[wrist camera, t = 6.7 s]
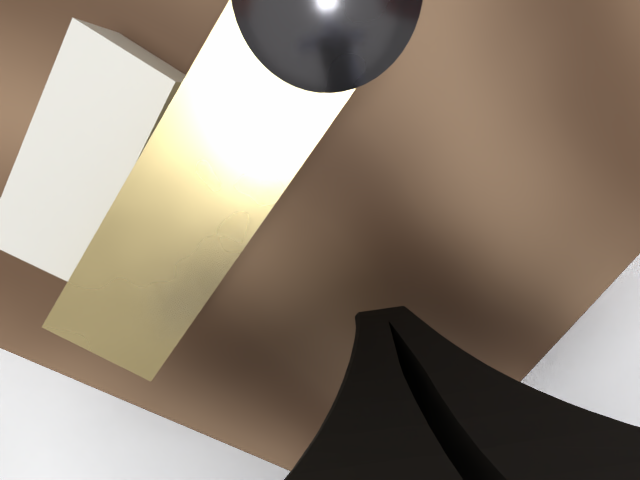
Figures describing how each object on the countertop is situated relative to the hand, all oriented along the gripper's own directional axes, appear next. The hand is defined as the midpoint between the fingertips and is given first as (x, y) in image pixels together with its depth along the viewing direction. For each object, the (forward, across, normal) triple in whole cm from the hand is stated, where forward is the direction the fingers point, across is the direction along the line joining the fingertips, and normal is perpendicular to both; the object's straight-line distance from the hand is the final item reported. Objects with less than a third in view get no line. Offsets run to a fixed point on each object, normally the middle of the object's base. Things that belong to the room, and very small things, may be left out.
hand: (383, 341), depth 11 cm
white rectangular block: (+1, +6, -6) cm, 8 cm away
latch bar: (+1, +3, -5) cm, 6 cm away
